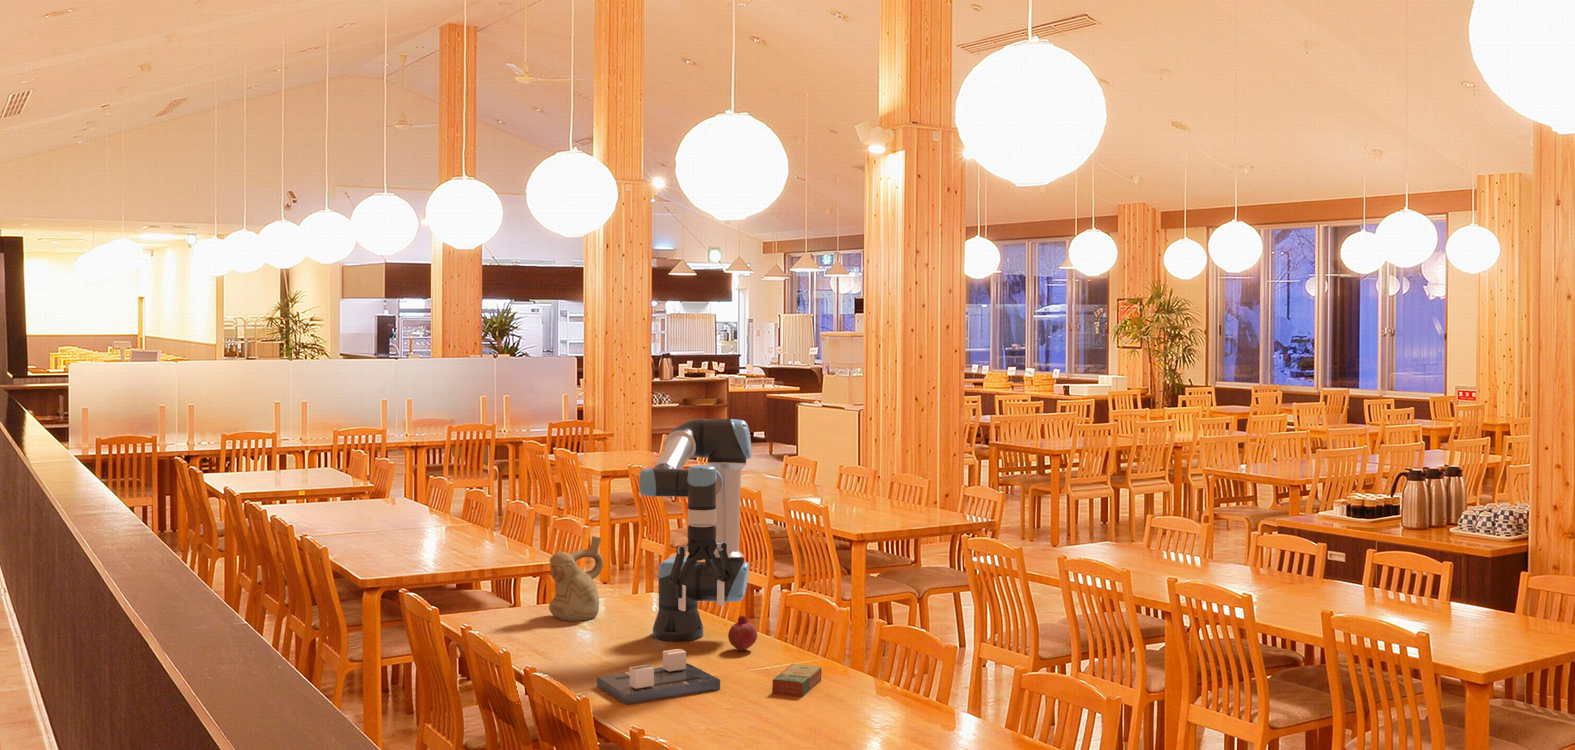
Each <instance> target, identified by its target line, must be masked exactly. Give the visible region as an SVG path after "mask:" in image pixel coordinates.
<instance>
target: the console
mask: <svg viewBox="0 0 1575 750" xmlns="http://www.w3.org/2000/svg"><path fill="white" fill-rule="evenodd" d="M653 668H654V686H649V687H643V688H637V689H635V688H633V687H632V686H630V671H627V672H626V671H625V672H621V673H620V672H619V673H615V674H608V675H607V674H606V675H602V676H600V675H599V676H596V687H597V688H599V689H600V690H602V691H604V692H605V693H607V694H608V695H610V696H612V697H613V698H615V699H616V700H618V701H620V703H623V704H625V705H632V704H637V703H643V702H644V703H645V702H649V701H650V702H651V701H657V700H663V699H670V698H674V697H675V698H676V697H682V696H687V695H694V694H700V693H705V692H706V693H707V692H712V691H718V690H721V679H719V678H718V677H716V676H714V675H712V674H710V673H708V672H706V671H704V670H702V669H701V668H698V667H696V666H694V665H692V664H690V663H687V662H686V669H682V670H675V671H667V670H665V669H663V666H661V667H653Z"/></svg>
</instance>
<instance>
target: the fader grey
mask: <svg viewBox="0 0 1575 750" xmlns="http://www.w3.org/2000/svg"><path fill="white" fill-rule="evenodd" d="M654 668H655V667H653V665H651V664H644V665H637V666H631V667H629V672H630V686H632V687H633V688H635V689H637V688H643V687H649V686H654Z"/></svg>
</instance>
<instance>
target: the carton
mask: <svg viewBox="0 0 1575 750" xmlns="http://www.w3.org/2000/svg"><path fill="white" fill-rule="evenodd" d="M822 670H823V669H822V666H820V665H812V664H811V665H810V664H801V663H791V664H789V666H787V667H786V669H785V668H784V670H783V671H781V672H780V673H779V674H778V675H776V676H775V677H774V678H772V683H771V684H772V686H771V687H772V688H771V695H779V696H788V697H798V698H799V697H800V698H804V696H806V695H807V694H808V693H809V692H810V691H811V690H812V689H813V688H815V686H817V685H818V684H819V683H820V682H821V681H822Z"/></svg>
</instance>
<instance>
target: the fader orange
mask: <svg viewBox="0 0 1575 750" xmlns="http://www.w3.org/2000/svg"><path fill="white" fill-rule="evenodd" d="M686 664H687V651H685V650H684V649H683V648H677V649H676V648H675V649H669V650H663V651H662V667H663V669H665V670H667V671H675V670H682V669H686Z"/></svg>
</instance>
